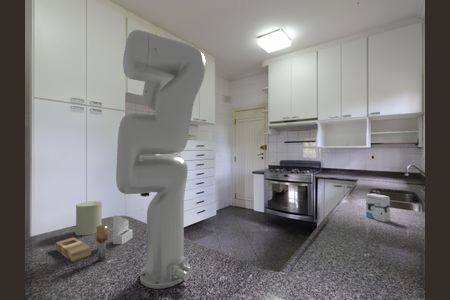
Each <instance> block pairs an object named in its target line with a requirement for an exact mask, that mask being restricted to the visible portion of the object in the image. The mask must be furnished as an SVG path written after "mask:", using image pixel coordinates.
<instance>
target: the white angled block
mask: <svg viewBox="0 0 450 300" xmlns="http://www.w3.org/2000/svg"><path fill="white" fill-rule="evenodd" d="M112 219H113V220H112V221H113V224H112V225H113V226H112V228H113V230H112V231H113V232H112V233H113V234H112V244H113V245H124V244H125V243H127V242H129V240H131V239H133V229H130V228H129V221H130V220H129V219H127V218H125V217H121V216H120V215H113V218H112Z"/></svg>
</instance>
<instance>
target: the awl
mask: <svg viewBox="0 0 450 300" xmlns="http://www.w3.org/2000/svg"><path fill="white" fill-rule="evenodd" d="M95 234H96V235H95V237H96V239H95V241H96V242H97V262H104V261H106V259H107V254H106V253H107V252H106V251H107V240H108V238H109V224H101V225H100V226H98V227H96V233H95Z"/></svg>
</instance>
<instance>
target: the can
mask: <svg viewBox="0 0 450 300" xmlns="http://www.w3.org/2000/svg"><path fill="white" fill-rule="evenodd" d="M102 205H103V201H100V200H99V201H98V200H95V201H93V200H91V201H84V202H79V203H77V204H75V232H74V234H75V235H76V236H80V235H82V236H90V235H94V234H96V227H98V226H100V225H102V211H103V210H102V207H103V206H102Z"/></svg>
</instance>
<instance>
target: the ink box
mask: <svg viewBox="0 0 450 300" xmlns="http://www.w3.org/2000/svg"><path fill="white" fill-rule="evenodd" d="M390 200H391V197H390V196H388V195H383V194H378V193H367V194H365V208H366V210H365V212H366V213H365V214H366V216H365V217H366V218H369V219H373V220H376V221H380V222H383V223H384V222H390V221H391V201H390Z"/></svg>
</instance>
